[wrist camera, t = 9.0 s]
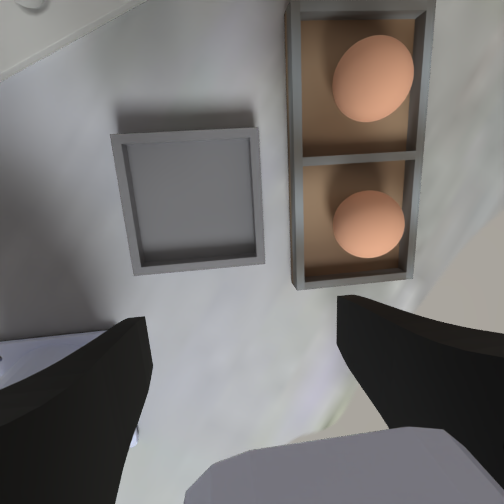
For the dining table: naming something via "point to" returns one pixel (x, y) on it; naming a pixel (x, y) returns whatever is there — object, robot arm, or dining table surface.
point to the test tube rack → (49, 27)
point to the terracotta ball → (368, 224)
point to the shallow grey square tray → (191, 199)
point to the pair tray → (351, 136)
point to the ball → (373, 78)
